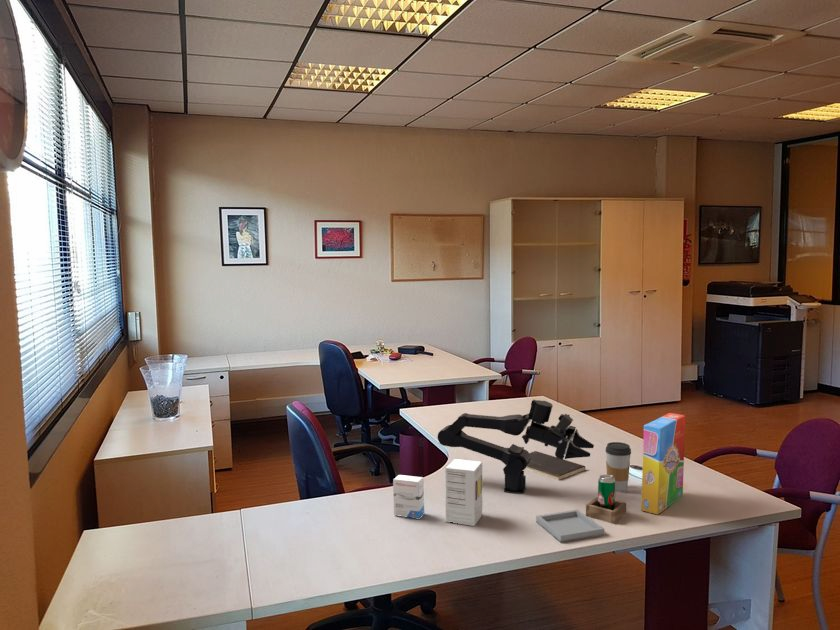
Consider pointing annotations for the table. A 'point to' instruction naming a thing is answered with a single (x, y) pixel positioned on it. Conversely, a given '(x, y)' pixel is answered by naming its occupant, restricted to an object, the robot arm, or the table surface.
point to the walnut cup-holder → (606, 511)
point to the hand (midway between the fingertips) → (591, 450)
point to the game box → (663, 462)
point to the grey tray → (569, 525)
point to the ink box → (408, 496)
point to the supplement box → (463, 491)
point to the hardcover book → (552, 466)
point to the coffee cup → (618, 464)
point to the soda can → (606, 492)
